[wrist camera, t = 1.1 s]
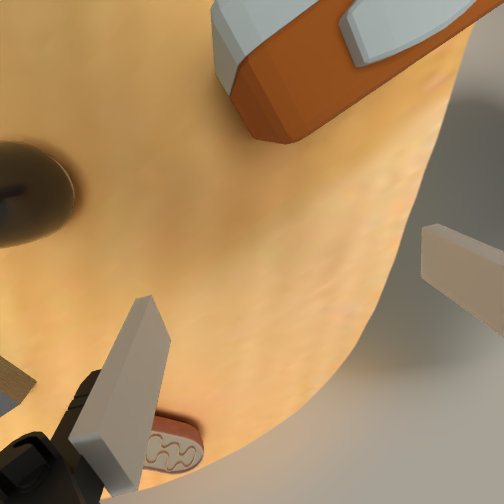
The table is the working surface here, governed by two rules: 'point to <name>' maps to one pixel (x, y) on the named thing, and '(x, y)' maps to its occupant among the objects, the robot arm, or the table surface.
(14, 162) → the pump dispenser
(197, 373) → the table surface
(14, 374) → the rail
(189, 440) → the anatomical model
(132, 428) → the robot arm
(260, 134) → the alarm clock
